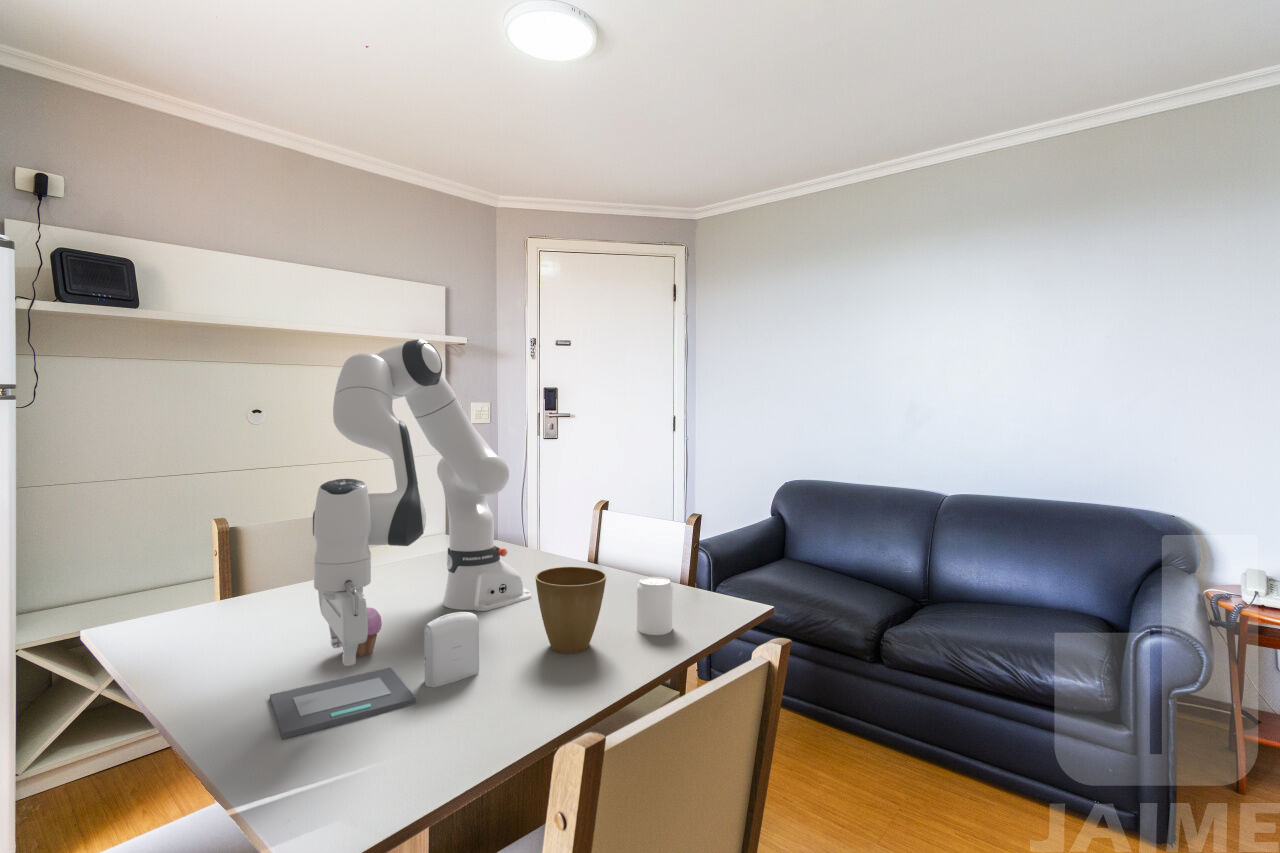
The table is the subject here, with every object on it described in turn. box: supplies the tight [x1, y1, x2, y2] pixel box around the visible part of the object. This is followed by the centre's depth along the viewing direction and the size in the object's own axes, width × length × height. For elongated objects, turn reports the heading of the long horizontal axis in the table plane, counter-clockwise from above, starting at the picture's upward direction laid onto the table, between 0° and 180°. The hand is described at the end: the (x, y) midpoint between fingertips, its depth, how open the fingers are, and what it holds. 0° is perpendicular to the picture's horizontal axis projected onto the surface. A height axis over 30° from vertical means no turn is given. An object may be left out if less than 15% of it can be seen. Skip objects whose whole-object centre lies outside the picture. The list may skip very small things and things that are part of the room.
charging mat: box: [269, 667, 417, 740], centre depth 107 cm, size 20×16×1 cm
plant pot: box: [534, 566, 607, 655], centre depth 132 cm, size 15×15×16 cm
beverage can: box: [636, 576, 673, 636], centre depth 143 cm, size 8×8×12 cm
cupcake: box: [356, 606, 383, 659], centre depth 127 cm, size 9×9×10 cm
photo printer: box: [423, 611, 480, 688], centre depth 116 cm, size 10×4×12 cm, turn 132°
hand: (342, 655), depth 107 cm, fingers open, 8 cm apart
